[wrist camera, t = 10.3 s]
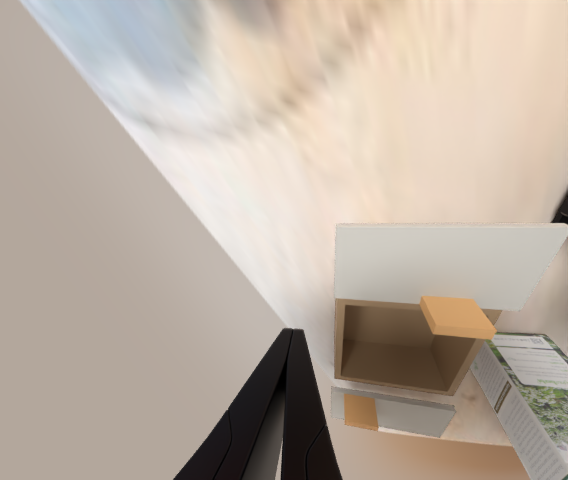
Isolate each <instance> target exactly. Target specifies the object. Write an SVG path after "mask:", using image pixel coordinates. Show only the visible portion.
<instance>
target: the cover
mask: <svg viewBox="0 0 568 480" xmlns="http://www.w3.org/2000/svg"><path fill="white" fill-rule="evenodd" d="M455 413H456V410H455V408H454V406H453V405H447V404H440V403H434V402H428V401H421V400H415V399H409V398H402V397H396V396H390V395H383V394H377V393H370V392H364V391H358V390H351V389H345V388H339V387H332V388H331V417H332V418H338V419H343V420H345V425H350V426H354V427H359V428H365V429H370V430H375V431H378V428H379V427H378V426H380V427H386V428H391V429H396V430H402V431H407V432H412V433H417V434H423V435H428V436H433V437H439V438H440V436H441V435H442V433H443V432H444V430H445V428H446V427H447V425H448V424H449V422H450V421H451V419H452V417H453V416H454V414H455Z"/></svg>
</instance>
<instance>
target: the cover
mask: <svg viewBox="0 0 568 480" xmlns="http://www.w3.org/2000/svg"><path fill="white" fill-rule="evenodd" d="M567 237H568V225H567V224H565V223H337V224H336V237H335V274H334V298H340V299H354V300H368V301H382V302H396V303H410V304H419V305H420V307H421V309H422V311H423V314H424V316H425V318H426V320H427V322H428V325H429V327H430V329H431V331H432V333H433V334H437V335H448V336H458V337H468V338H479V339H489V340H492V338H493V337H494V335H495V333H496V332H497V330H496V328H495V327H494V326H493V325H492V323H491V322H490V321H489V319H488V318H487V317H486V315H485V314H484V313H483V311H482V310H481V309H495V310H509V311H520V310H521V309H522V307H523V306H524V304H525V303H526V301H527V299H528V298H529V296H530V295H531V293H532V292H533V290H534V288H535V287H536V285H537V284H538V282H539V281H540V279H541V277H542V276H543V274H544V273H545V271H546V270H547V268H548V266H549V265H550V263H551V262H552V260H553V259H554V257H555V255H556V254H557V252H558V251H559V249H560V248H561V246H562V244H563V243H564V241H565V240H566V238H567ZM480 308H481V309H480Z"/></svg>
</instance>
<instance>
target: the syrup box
mask: <svg viewBox="0 0 568 480" xmlns="http://www.w3.org/2000/svg"><path fill="white" fill-rule="evenodd" d="M470 369H471V371H472V373H473V375H474V377H475V378H476V380H477V382H478V383H479V385H480V387H481V389H482V390H483V392H484V394H485V396H486V398H487V399H488V401H489V403H490V405H491V407H492V409H493V410H494V412H495V414H496V416H497V418H498V420H499V421H500V423H501V425H502V427H503V429H504V431H505V433H506V434H507V436H508V438H509V440H510V442H511V444H512V446H513V447H514V449H515V451H516V453H517V455H518V457H519V459H520V461H521V462H522V464H523V466H524V468H525V470H526V472H527V474H528V475H529V477H530V479H531V480H568V357H567V356H566V355H565V354H564V353H563V352H562V351H561V350H560V348H559V347H558V346H557V345H556V344H555V343H554V342H553V341H552V340H551V339H550V338H549V337H548V336H547V335H539V334H513V333H495V335H494V337H493V338H492V340H489V339H486V340H485V342H484V343H483V345H482V347H481V349H480V350H479V352H478V354H477V355H476V357H475V359H474V361H473V362H472V364H471V366H470Z"/></svg>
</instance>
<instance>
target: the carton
mask: <svg viewBox="0 0 568 480" xmlns="http://www.w3.org/2000/svg"><path fill="white" fill-rule="evenodd" d="M480 309H481V308H480ZM481 310H482V311H483V313H484V314H485V315H486V317H487V318H488V319H489V321H490V322H491V323H492V325H493V326H494V324H495V322H496V321H497V319H498V317H499V316H500V314H501V312H502V310H495V309H481ZM485 340H486V339H479V338H468V337H458V336H448V335H437V334H433V333H432V331H431V329H430V327H429V325H428V322H427V320H426V318H425V316H424V314H423V311H422V309H421V307H420V305H419V304H410V303H396V302H382V301H368V300H354V299H340V298H336V300H335V331H334V370H335V379H342V380H348V381H355V382H362V383H368V384H375V385H382V386H388V387H395V388H402V389H409V390H415V391H422V392H429V393H435V394H442V395H449V396H453V395H454V394H455V392H456V390H457V388H458V387H459V385H460V383H461V381H462V380H463V378H464V376H465V375H466V373H467V371H468V369H469V368H470V366H471V364H472V362H473V361H474V359H475V357H476V355H477V354H478V352H479V350H480V349H481V347H482V345H483V343H484V342H485Z"/></svg>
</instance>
